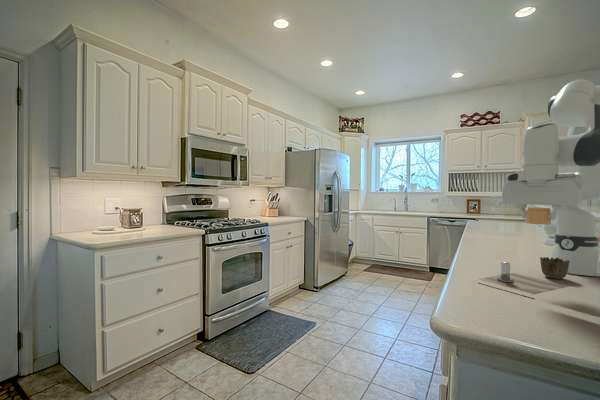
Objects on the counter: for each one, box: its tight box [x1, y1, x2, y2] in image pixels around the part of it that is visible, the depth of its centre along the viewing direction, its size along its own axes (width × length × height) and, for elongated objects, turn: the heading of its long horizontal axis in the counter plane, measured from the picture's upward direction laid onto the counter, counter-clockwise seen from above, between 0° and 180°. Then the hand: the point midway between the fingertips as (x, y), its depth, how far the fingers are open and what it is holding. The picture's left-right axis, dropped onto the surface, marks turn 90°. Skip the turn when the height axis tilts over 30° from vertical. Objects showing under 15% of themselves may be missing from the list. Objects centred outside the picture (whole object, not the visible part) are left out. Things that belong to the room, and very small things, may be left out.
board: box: [477, 272, 571, 300], centre depth 91 cm, size 20×16×2 cm
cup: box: [539, 256, 569, 280], centre depth 97 cm, size 8×7×8 cm
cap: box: [526, 207, 552, 226], centre depth 90 cm, size 5×5×5 cm
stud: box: [497, 261, 514, 283], centre depth 92 cm, size 4×4×6 cm
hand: (538, 219), depth 90 cm, fingers closed on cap, 5 cm apart
